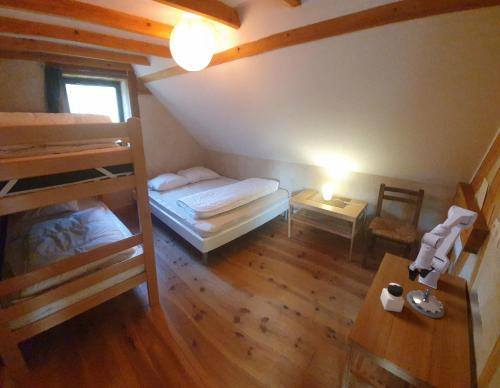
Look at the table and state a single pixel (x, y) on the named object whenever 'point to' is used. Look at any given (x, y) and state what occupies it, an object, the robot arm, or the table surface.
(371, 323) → the table surface
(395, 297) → the medicine bottle
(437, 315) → the sprocket base
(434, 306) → the sprocket
